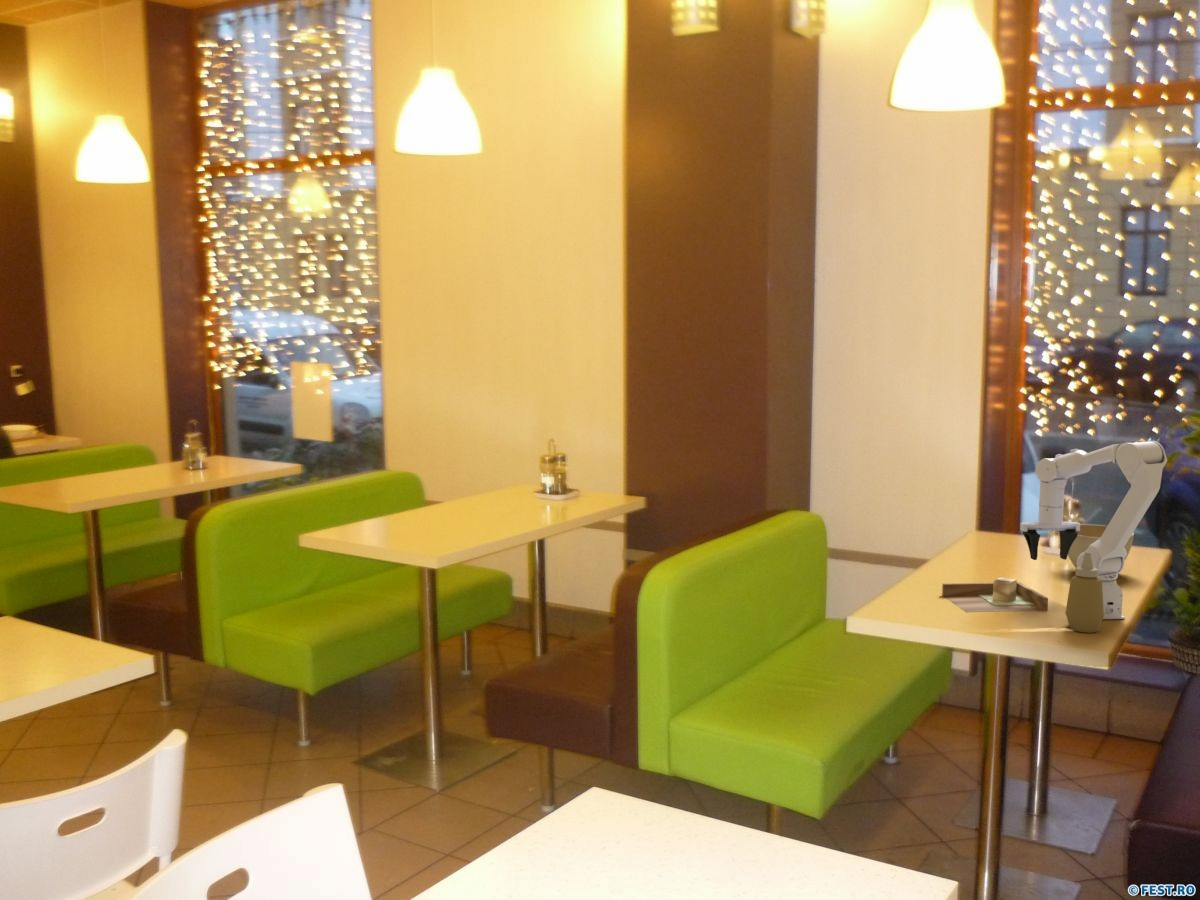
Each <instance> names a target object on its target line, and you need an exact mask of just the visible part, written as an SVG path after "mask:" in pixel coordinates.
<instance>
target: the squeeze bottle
mask: <svg viewBox="0 0 1200 900" xmlns="http://www.w3.org/2000/svg"><path fill="white" fill-rule="evenodd" d="M1097 576H1098V569H1097V568H1094V567H1093V563H1092V558H1091V553H1090V552H1085V554H1084V558H1083V561H1082V565H1081V566H1079V567H1076V568H1075V575H1073V576H1072V577H1071V578H1070V583H1069V587H1068V588H1069V590H1068V596H1067V600H1066V601H1067V602H1066V606H1065V607H1066V608H1065V616H1066V619H1067V623H1068V625H1069V628H1070V629H1071V630H1073V631H1076V632H1079V633H1096V632H1098V630H1099V629H1100V626H1101V624H1102V621H1104V619H1103V617H1104V608H1103V591H1102V581H1101V580H1100V579H1099V578H1098V577H1097Z"/></svg>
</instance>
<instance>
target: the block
mask: <svg viewBox="0 0 1200 900" xmlns="http://www.w3.org/2000/svg"><path fill="white" fill-rule="evenodd" d="M1017 580H1018V579H1015V578H1010V577H1003V576H1001V577H998V578H995V579H993V582H992V583H993V600H996V601H1002V602H1007V603H1009V602H1011V601H1013V600H1015V599H1016V585H1017V582H1018V581H1017Z"/></svg>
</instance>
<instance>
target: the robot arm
mask: <svg viewBox="0 0 1200 900" xmlns="http://www.w3.org/2000/svg"><path fill="white" fill-rule="evenodd" d="M1109 462H1112V463H1113V464H1117V466H1118V468H1120V470H1121V472H1122V474H1123V475H1124V477H1125V479H1126V480H1127V482H1128V483H1129V484H1130V488H1129V489H1128V491H1127V493H1126V495H1125V497H1124V498H1123V500H1122V501H1121V503H1120V504H1119V506H1118V508H1117V510H1116V512H1115V513H1114V515H1113V516H1112V518H1111V520H1110V521H1109V523H1108V525H1106V526H1107V528H1106V529H1105V531H1104V533H1103V534H1102V536H1101V538H1100V539H1098V540H1097V541H1095V542H1094V543H1092V544H1091V545H1090V546H1089V547H1088V549H1087V550H1086V551H1085V552H1090V553H1091V558H1092V563H1093V567H1094V568H1097V569H1098V576H1097V577H1098V578H1099V579H1100V580H1101V581H1102V591H1103V608H1104V617H1103V620H1125V619H1126V616H1124V615H1123V614H1122V613H1123V596H1124V594H1123V590H1122V589H1121V587H1120V586H1119V585H1118V583H1117V578H1119V573H1120V572H1122V571H1123V570H1124V566H1125V561H1126V559H1125V557H1126V555H1127V551H1126V550H1125V548H1124V546H1125V545H1126V543H1127V541H1128V540H1129V538H1130V537H1131V535H1132V533H1134V532H1135V530H1136V529H1137V526H1138V525H1139V524H1140V522H1141V520H1142V519H1143V518H1144V515H1145V514H1146V512H1147V511H1148V509H1149V508H1150V506H1151V504H1152V502H1153V501H1154V499H1155V498H1156V496H1157V494H1158V493H1159V491H1160V488H1161V484H1162V475H1163V470H1164V468H1165V466H1166V464H1167V462H1168V458H1167V454H1166V451H1165V449H1164V447H1163V445H1162V444H1161V443H1160V442H1158V441H1156V440H1148V441H1142V442H1141V441H1140V442H1124V443H1116V444H1115V443H1114V444H1111V445H1107V446H1105V447H1101V448H1099V449H1096V450H1093V451H1090V452H1087V451H1085V450H1083V449H1079V448H1074V449H1070V450H1069V452H1068V453H1065V454H1061V453H1058V454H1056V455H1055V457H1054V458H1052V457H1051V458H1049V457H1048V458H1047V457H1044V458H1042V459H1041V460H1039V461H1037V464H1036V466H1035V474H1036V476H1037V478H1038V479H1039V480H1040V481H1039V483H1040V484H1039V502H1038V503H1039V504H1038V517H1037V518H1038V520H1037V521H1027V522H1020V529H1019V530H1020V531H1022V534H1023V536H1024V539H1025V541H1026V543H1027V546H1028V551H1029V556H1030V559H1032V560H1033V561H1037V560H1038V548H1039V542H1040V539H1041V534H1039V533H1038V532H1041V531H1043V532H1047V531H1050V532H1051V531H1052V532H1053V531H1054V532H1055V531H1057V532H1058V531H1059V539H1060V540H1059V541H1060V542H1059V543H1060V547H1059V558H1060V559H1062V560H1064V561H1065V560H1067V559H1068V552H1069V550H1070V547H1071V545H1072V543H1073V542H1074V540H1075V539H1076V537H1077V535H1078V533H1077V532H1075V531H1080V525H1081V523H1080V522H1077V521H1064V507H1065V504H1064V503H1065V488H1066V486H1067V483H1068V482H1067V481H1068V479H1069V478H1072V477H1076V476H1080V475H1083V474H1087V473H1089V472H1090V471H1091V469H1092V468H1093V467H1094V466H1097V465H1102V464H1106V463H1109ZM1085 552H1083V553H1081V554H1080V555H1079V557H1078V559H1077V567H1079V566H1081V565H1082V561H1083V558H1084V554H1085ZM1124 560H1125V561H1124Z"/></svg>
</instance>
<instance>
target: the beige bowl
mask: <svg viewBox="0 0 1200 900" xmlns="http://www.w3.org/2000/svg"><path fill="white" fill-rule="evenodd" d="M1107 526H1108V525H1104V524H1103V525H1102V524H1080V531H1075V532H1077V533H1078V535H1077V537H1076V539H1075V540H1074V542H1073V543H1072V545H1071V547H1070V550H1069V552H1068V555H1067V557H1068V559H1069V560H1070V561H1071V564H1072V565H1073V566H1074V568H1075V569H1076V567H1077V559H1078V557H1079V555H1080V554H1081V553H1083V552H1085V551H1086V550H1087V549H1088V547H1089V546H1090V545H1091V544H1092V543H1094V542H1095V541H1097V540H1098V539H1100V538H1101V536H1102V534H1103V533H1104V531H1105V529H1106V528H1107ZM1134 536H1135V533H1134V532H1133V533H1132V535H1131V537H1130V538H1129V540H1128V541H1127V543H1126V545H1125V546H1124V548H1125V550H1126V551H1127V555H1126V557H1125V560H1124V562H1125V561H1126V560H1127V557H1128V556H1129V554H1130V551H1131V548H1132V545H1133V541H1134Z"/></svg>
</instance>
